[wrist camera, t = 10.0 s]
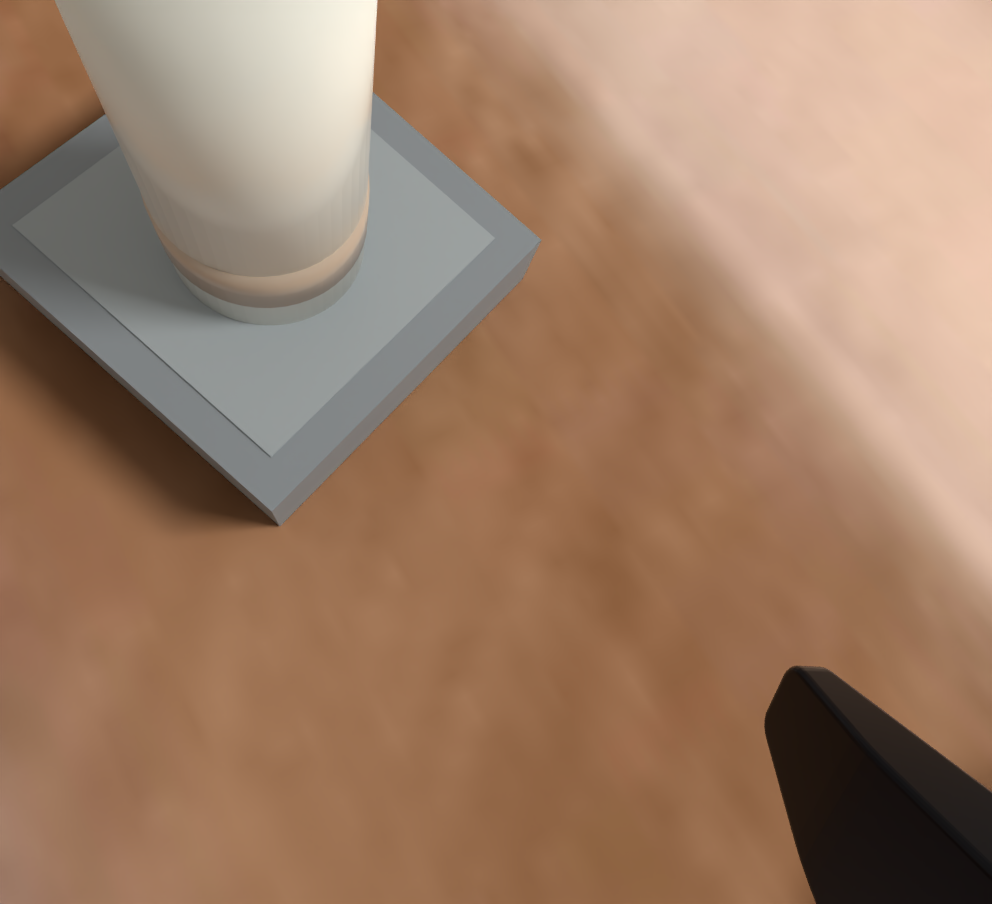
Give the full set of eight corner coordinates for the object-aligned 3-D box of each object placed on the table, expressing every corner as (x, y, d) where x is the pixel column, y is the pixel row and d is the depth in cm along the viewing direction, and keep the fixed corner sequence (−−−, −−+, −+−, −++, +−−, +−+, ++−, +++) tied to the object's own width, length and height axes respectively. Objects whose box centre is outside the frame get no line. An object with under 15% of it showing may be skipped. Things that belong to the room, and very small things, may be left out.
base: (280, 526, 22) (271, 511, 19) (-6, 270, 22) (-50, 223, 19) (522, 278, 25) (541, 239, 22) (273, 59, 25) (266, -3, 23)
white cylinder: (315, 359, 20) (270, -89, 8) (127, 273, 20) (-230, -339, 8) (396, 204, 22) (465, -371, 9) (225, 121, 21) (63, -591, 9)
